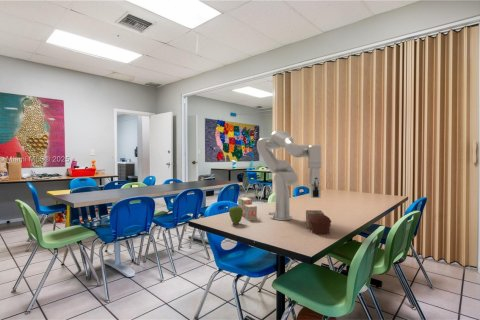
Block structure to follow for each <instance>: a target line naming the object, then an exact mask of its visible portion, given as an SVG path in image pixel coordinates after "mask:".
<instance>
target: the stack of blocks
mask: <svg viewBox="0 0 480 320" xmlns="http://www.w3.org/2000/svg"><path fill="white" fill-rule="evenodd" d="M237 207H241V208H242V210H243V214H242V218H244V219H245V220H247V221H257V219H258V218H257V217H258V216H257V211H258V206H257V205H255V204H253V199H251V198H249V197H247V196H246V197H244V196H243V197H238V206H237Z"/></svg>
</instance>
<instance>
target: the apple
mask: <svg viewBox="0 0 480 320" xmlns="http://www.w3.org/2000/svg"><path fill="white" fill-rule="evenodd" d="M228 214H229V218H230V221H231V222H232V224H234V225H238V224H240V222H241V220H242V218H243V217H242V214H243V210H242V208H241V207H239V206H236V205H235V206H231V207H230V208H229V209H228Z"/></svg>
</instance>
